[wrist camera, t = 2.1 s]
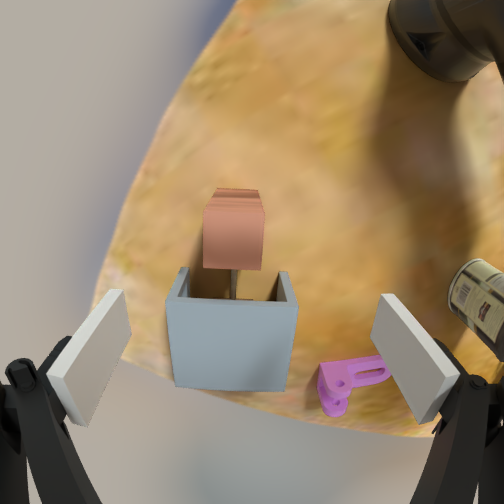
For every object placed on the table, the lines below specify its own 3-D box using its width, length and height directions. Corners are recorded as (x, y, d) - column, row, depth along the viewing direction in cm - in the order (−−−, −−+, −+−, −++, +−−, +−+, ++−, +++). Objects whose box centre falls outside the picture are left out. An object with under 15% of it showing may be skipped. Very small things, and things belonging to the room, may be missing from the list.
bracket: (316, 387, 44) (325, 418, 37) (319, 362, 42) (329, 394, 36) (388, 375, 44) (402, 403, 38) (395, 351, 42) (412, 378, 36)
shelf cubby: (181, 267, 36) (165, 301, 28) (287, 271, 36) (298, 307, 29) (185, 344, 40) (175, 386, 32) (277, 348, 41) (284, 391, 33)
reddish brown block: (215, 188, 33) (199, 210, 22) (259, 190, 33) (268, 213, 22) (213, 329, 39) (204, 393, 28) (250, 331, 39) (253, 396, 28)
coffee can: (486, 302, 40) (533, 343, 27) (444, 322, 41) (490, 373, 27) (491, 250, 36) (549, 286, 23) (448, 267, 37) (507, 314, 24)
